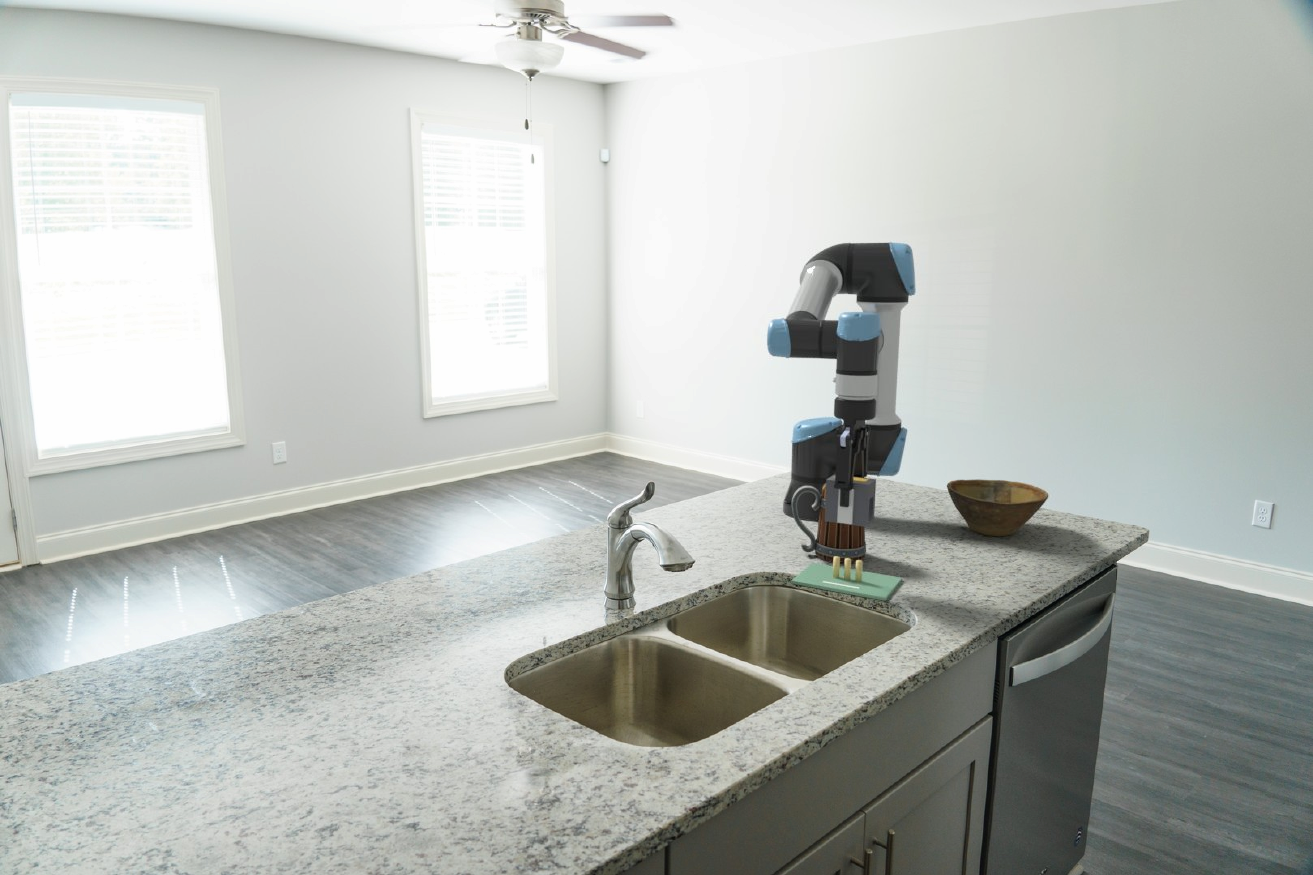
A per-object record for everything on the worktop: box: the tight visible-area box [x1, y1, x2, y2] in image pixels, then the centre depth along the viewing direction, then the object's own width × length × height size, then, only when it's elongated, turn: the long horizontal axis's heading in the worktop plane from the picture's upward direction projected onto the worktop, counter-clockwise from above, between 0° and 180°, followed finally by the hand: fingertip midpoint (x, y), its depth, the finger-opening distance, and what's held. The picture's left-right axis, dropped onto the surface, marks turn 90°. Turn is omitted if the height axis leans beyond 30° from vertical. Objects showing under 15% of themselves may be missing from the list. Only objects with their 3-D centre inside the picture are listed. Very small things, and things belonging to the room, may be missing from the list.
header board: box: [790, 556, 903, 602], centre depth 169 cm, size 12×18×5 cm, turn 61°
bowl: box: [946, 479, 1049, 537], centre depth 202 cm, size 22×23×10 cm
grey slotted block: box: [825, 475, 877, 528], centre depth 166 cm, size 5×8×8 cm, turn 61°
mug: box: [792, 484, 867, 564], centre depth 184 cm, size 16×11×15 cm
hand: (849, 519), depth 167 cm, fingers closed on grey slotted block, 5 cm apart
